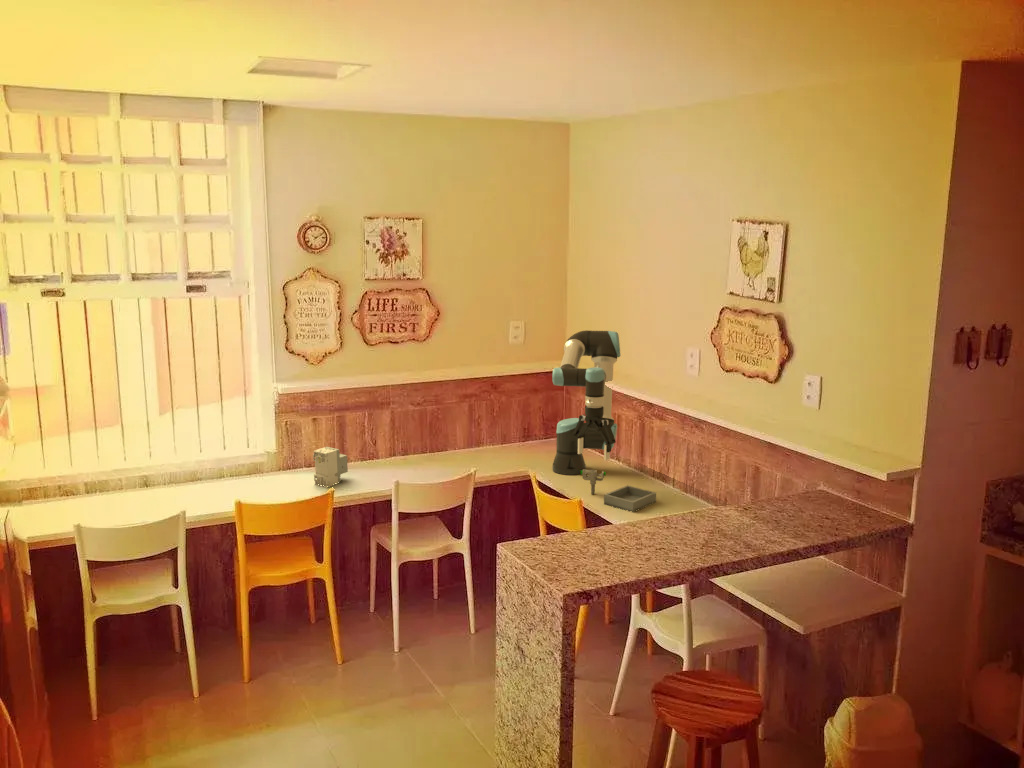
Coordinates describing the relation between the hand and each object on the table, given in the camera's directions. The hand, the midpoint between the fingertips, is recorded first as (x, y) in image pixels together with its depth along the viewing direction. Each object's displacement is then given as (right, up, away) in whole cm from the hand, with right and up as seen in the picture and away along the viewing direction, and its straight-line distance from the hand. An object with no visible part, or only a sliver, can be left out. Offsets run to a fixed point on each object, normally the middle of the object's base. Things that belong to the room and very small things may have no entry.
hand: (593, 456), depth 365 cm
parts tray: (+14, -18, -8) cm, 24 cm away
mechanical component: (0, -16, +4) cm, 16 cm away
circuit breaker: (-111, -13, +20) cm, 113 cm away
